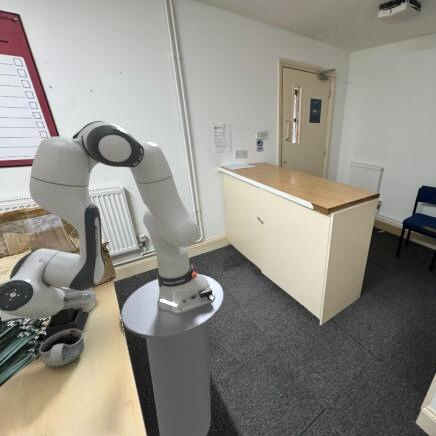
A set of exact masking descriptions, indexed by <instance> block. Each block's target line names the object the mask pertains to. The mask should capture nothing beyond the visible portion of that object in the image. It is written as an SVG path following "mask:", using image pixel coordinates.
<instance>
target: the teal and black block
mask: <svg viewBox="0 0 436 436" xmlns="http://www.w3.org/2000/svg"><path fill="white" fill-rule="evenodd" d="M51 318H52V321H53V325H54V326H57V325H62V324H67V323H71V322H74V320H75V318H76V316H75V312H74V309H73V308H69V309H63V310H60V311H59V312H58V313H56V314H55V315H53V316H51V317H50V319H51Z"/></svg>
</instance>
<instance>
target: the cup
mask: <svg viewBox="0 0 436 436" xmlns="http://www.w3.org/2000/svg"><path fill="white" fill-rule="evenodd" d="M60 290H62V291H63V292H64V293H65V294H69V293H75V292H81V291H79V290H74V289H69V288H65V287H60ZM84 291H91V292H94V291H93V287H92V288H90V289H87V290H84ZM95 306H96V302H95V303H93V304H89V305H84V306H79V307H74V308H73V309H80V308H82V309H83V312H87V311H88V312H90V311H92V310H93V309H94V308H95Z"/></svg>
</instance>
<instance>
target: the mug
mask: <svg viewBox="0 0 436 436" xmlns="http://www.w3.org/2000/svg"><path fill="white" fill-rule="evenodd" d="M84 336H85V333H84V331H81V330H79V329H67V330H63V331H61V332H58V333H56V334H54V335H53V336H51V337H49V338H48V339H47V340H45V341H42V343H41V344H40V346H39V348H38V352H39V354H40V355H41V358H42V359H41V360H42V362H43V364H44V365H45V366H48V367H53V368H59V367H62V366H64V365H67V364H70V363H71V362H73V361H75V360H76V359H77V358H78V357H80V355H81V354H82V353H83V351H84V350H85V344H86V343H85V339H84Z"/></svg>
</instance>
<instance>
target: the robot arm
mask: <svg viewBox="0 0 436 436" xmlns="http://www.w3.org/2000/svg"><path fill="white" fill-rule="evenodd" d="M98 164H102V165H104V166H107V167H113V168H129V170H130V171H131V174H132V177H133V180H134V182H135V184H136V187H137V190H138V192H139V195H140V197H141V200H142V202H143V204H144V206H145V207H146V208H147V209H148V210H147V211H145V213H144V215H143V216H142V222H143V223H142V224H143V225H144V226H145V228H146V230H147V232H148V235H149V238H150V241H151V244H152V247H153V249H154V252H155V255H156V256H155V257H156V262H157V269H158V271H157V279H158V284H159V297H158V301H157V305H158V307H159V308H160V309H162V310H165V311H170V312H172V313H174V314H180V313H183V312H186V311H188V310H191V309H194V308H197V307H199V306H202V305H205V304H208V303H210V302H213V301H214V299H215V290H214V288H213V286H212V285H211V284H210V283H209V282H208V281H207V279H206V278H205V277H204V276H202V275H203V274H201V275H199V274H200V273H197V272H196V270H195V268H194V266H193V265H190V257H189V256H190V255H189V253H190V252H189V250H188V248H189V247H191V246H193V245H194V244H195V243H196V242H197V241H198V239H199V237H200V233H201V230H200V229H201V228H200V227H199V225H198V224H197V222H195V221H194V219H193V218H192V216H191V215H190V213H189V211H188V209H187V207H186V205H185V204H184V202H183V201H182V198H181V196H180V194H179V192H178V188H177V185H176V183H175V180H174V176H173V172H172V170H171V166H170V164H169V162H168V159H167V157H166V155H165V154H164V152H163V149H162V148H161V147H160V146H159V144H157V143H154V142H151V141H140V142H139V141H138V140H137V139H135V138H134V136H132V134H130V133H129V132H128V131H126V130H125V129H123V128H122V127H121V126H119V125H117V124H115V123H112V122H108V121H102V120H95V121H91V122H89V123H87V124H86V125H84V126H83V127H82V128H80V130H78V131H77V132H76V133H75V134H73V136H72V138H70V137H66V136H56V135H55V136H48V137H45V138H44V139H42V140H41V141H40V143H39V145H38V147H37V149H36V152H35V155H34V158H33V161H32V164H31V170H30V177H29V184H28V185H29V187H28V189H29V194H30V198H31V199H32V200H33V201H34V202H35V204H36V205H37V206H39V207H40V208H41V209H43V210H44V211H46V212H48V213H50V214H52V215H54V216H56V217H58V218H60V219H61V220H63V221H65V222H67V224H69V225H71V226H72V228H74V229H75V231H76V232H77V234H78V243H79V254H78V253H73V252H68V251H67V252H66V251H62V250H56V249H50V248H44V247H42V248H37V249H35V250H33V251H30V252H28V253H27V254H25V255H23V256H22V257H21V258H20V259H19V260H18V261H17V262H16V264H15V265H14V266H13V268H12V270H11V272H10V275H9V279H8V280H6V281H4V282H3V283H2V284H0V321H1V322H12V321H19V320H34V319H38V320H39V319H40V320H41V319H48V318H51V316H53V315H55V314H56V313H58V312H59V311H60V310H63V309H69V308H74V307H79V306H84V305H89V304H93V303H95V304H96V301H97V294H96V292H94V291H93V292H91V291H84V290H87V289H90V288H92V289H93V288H94V287H95V286H98V285H99V284H100V283H101V282H102V279H103V278H104V274H105V270H106V266H105V265H106V264H105V261H104V256H103V234H102V218H101V211H100V208H99V207H98V206H97V205H95V203H94V202H93V200H92V199H91V196H90V190H89V185H90V181H91V180H90V178H91V173H92V170H93V169H94V168H95V167H96V166H97V165H98ZM57 287H59V288H57ZM61 287H65V288H69V289H74V290H79V291H81V292H75V293H69V294H65V293H64V292H63V291H62V290H61Z"/></svg>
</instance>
